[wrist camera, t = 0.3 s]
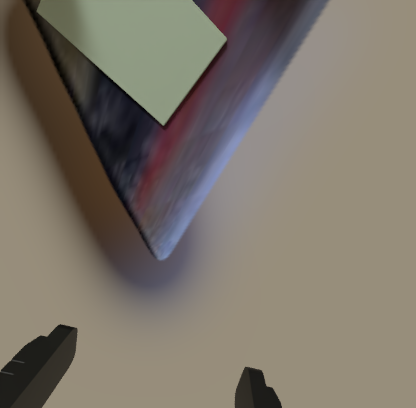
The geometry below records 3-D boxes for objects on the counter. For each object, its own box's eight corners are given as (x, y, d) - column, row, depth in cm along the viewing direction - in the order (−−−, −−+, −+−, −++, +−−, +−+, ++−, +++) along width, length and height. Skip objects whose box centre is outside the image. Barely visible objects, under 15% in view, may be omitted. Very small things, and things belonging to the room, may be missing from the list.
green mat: (89, -111, 19) (86, -116, 19) (226, 40, 23) (227, 38, 22) (40, 13, 23) (36, 11, 23) (164, 125, 27) (163, 125, 26)
